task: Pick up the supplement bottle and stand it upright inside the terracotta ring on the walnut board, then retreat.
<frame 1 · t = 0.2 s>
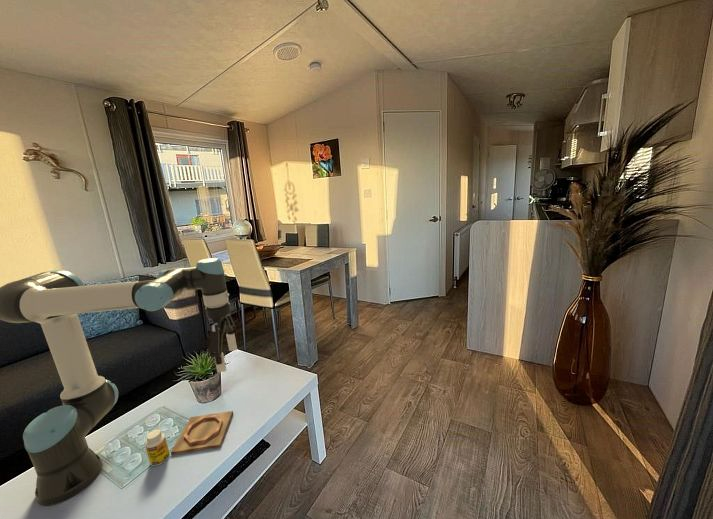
hand: (227, 360, 104), 28 cm above the table, fingers open, 13 cm apart
supplement bottle: (160, 459, 99), on the table
holder board: (204, 432, 108), on the table
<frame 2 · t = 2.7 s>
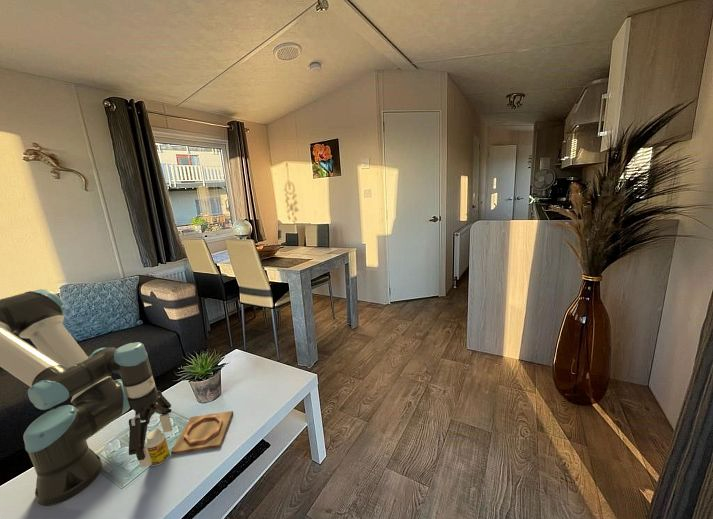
hand: (158, 447, 97), 5 cm above the table, fingers open, 13 cm apart
nothing on the table moved.
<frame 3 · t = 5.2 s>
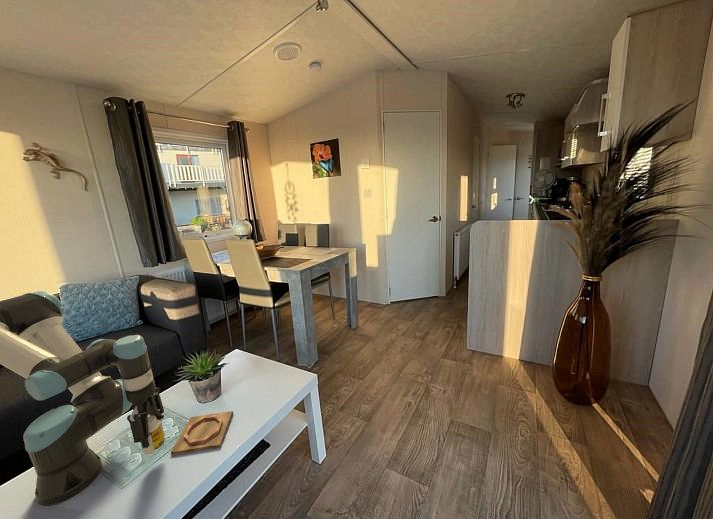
hand: (155, 444, 97), 6 cm above the table, fingers closed on supplement bottle, 6 cm apart
supplement bottle: (155, 446, 98), point 5 cm above the table, touching gripper
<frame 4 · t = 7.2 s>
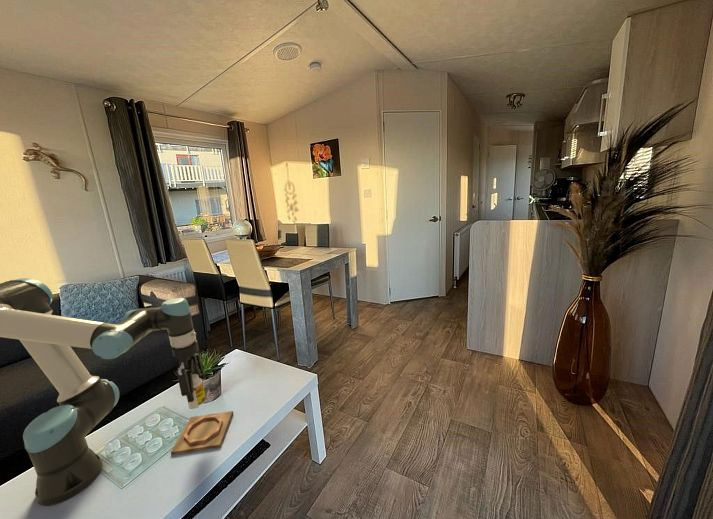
hand: (197, 401, 105), 13 cm above the table, fingers closed on supplement bottle, 6 cm apart
supplement bottle: (198, 402, 105), point 13 cm above the table, touching gripper
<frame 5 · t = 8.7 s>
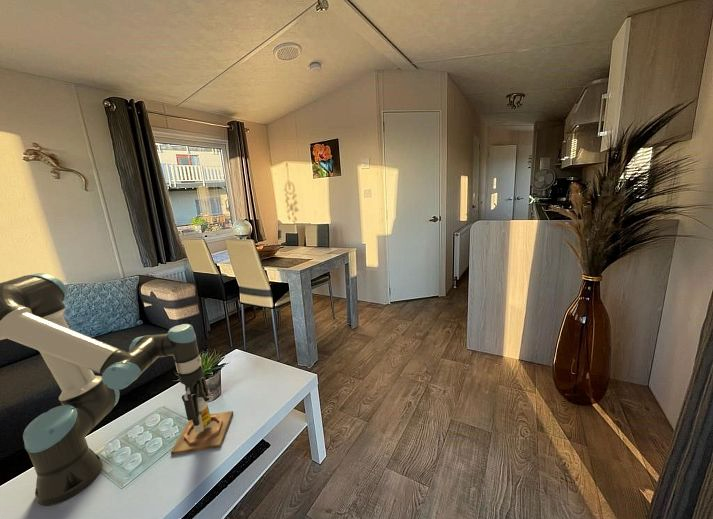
hand: (203, 424, 108), 4 cm above the table, fingers closed on supplement bottle, 6 cm apart
supplement bottle: (203, 425, 108), point 3 cm above the table, touching gripper
when the fingers open (3 cm above the table, at t = 9.7 s): supplement bottle drops 1 cm, resting on holder board.
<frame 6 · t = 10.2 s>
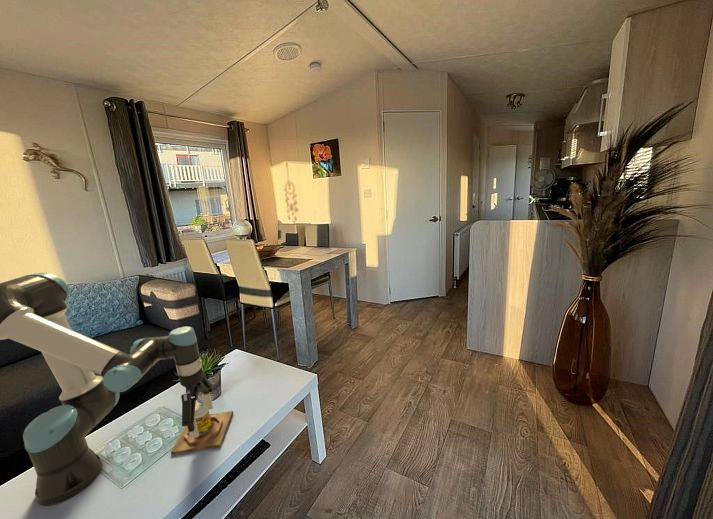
hand: (202, 422, 107), 5 cm above the table, fingers open, 13 cm apart
supplement bottle: (203, 430, 108), point 1 cm above the table, touching holder board
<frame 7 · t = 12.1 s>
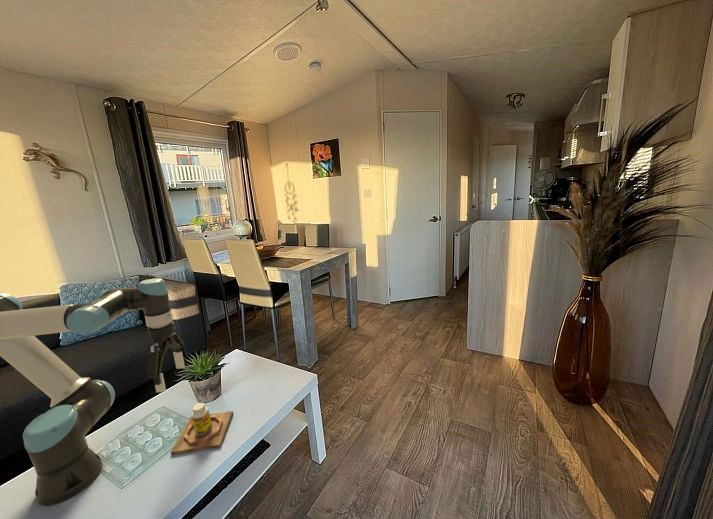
hand: (171, 378, 105), 22 cm above the table, fingers open, 13 cm apart
nothing on the table moved.
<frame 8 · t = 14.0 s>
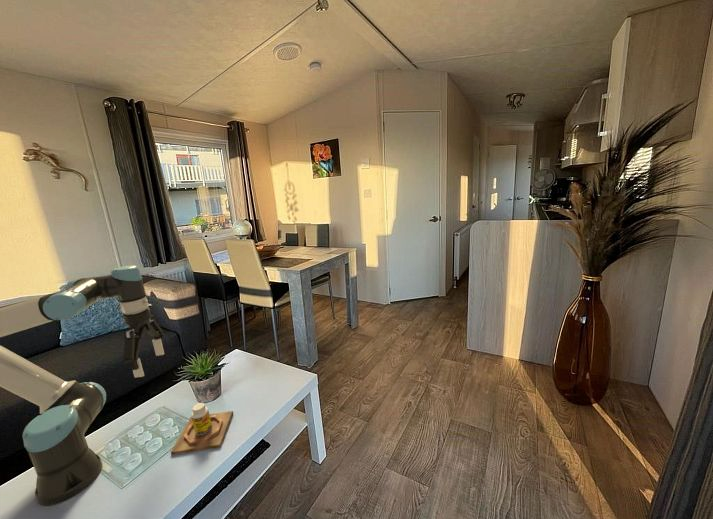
hand: (150, 365, 106), 27 cm above the table, fingers open, 13 cm apart
nothing on the table moved.
at the end: supplement bottle 0.1 cm from the holder board (horizontally); supplement bottle tilted 0°; supplement bottle point 1.0 cm above the table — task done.
